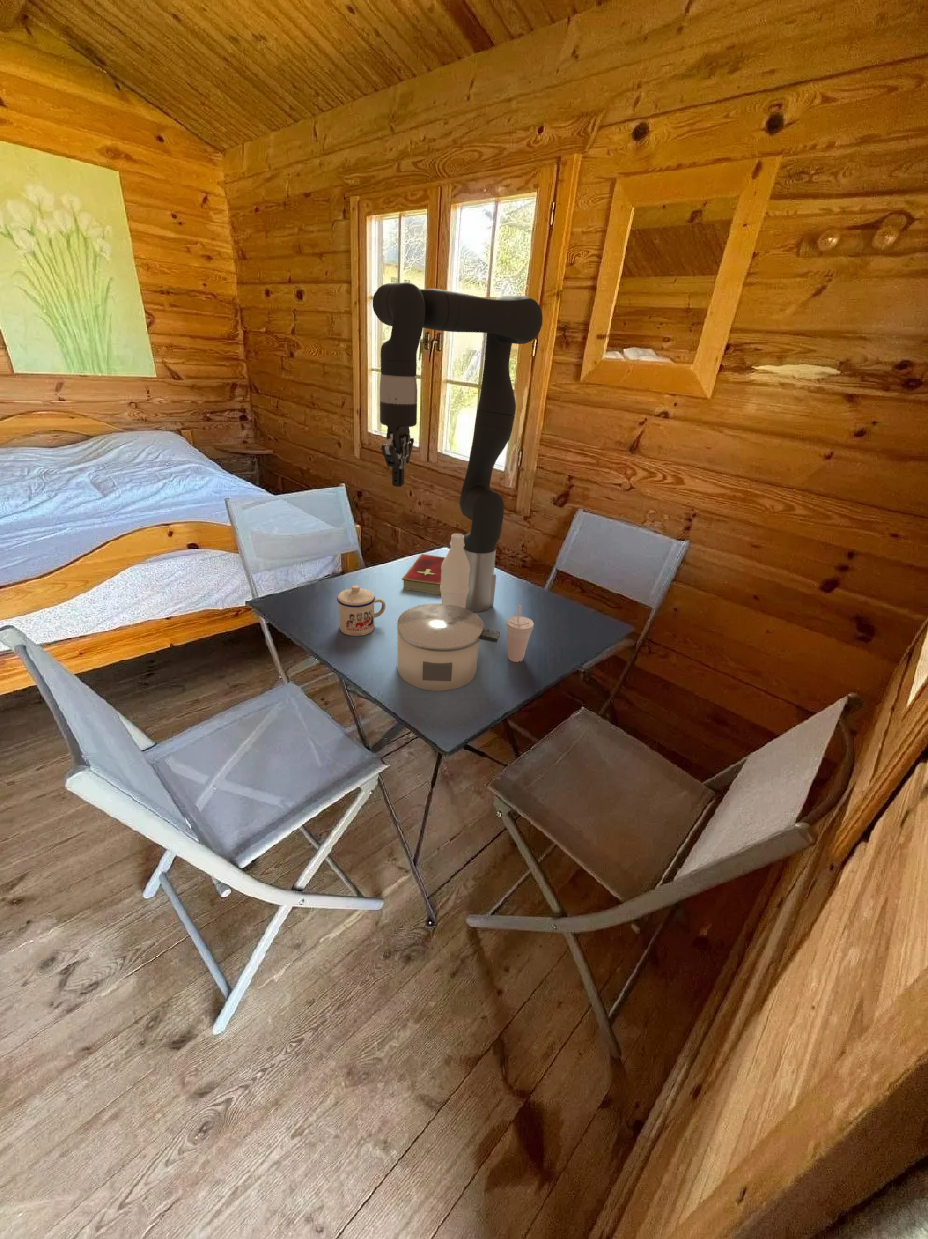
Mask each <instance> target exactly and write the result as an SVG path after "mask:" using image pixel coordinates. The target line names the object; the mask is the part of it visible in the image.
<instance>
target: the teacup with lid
mask: <svg viewBox="0 0 928 1239" xmlns="http://www.w3.org/2000/svg"><path fill="white" fill-rule="evenodd" d="M336 599H337V600H336V601H337V602H338V616H339V617H338V619H339V620H338V622H339V629H340V631H341V632H342V633H343V634H345V635H347V636H351V637H361V636H365V635H369V634H370V633H372V632H373V631H374V629H375V626H376V625H375V619H376V618H378V617H381V616H382V615H383V614H384V612H385V609H386V602H385V601H384V600H383V599H382V598H376V596H375V594H374V593H373V591H370V590H369V589H366V588H361V587H360V585H357V584H355V585H352V586H351V588H347V589H344V590H342V591H340V592H339V594H338V595H337V597H336ZM376 603H380V604H381V608H380V610H379V611H378V612H375V604H376Z"/></svg>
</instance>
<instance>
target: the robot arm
mask: <svg viewBox="0 0 928 1239" xmlns="http://www.w3.org/2000/svg"><path fill="white" fill-rule="evenodd" d="M372 309H373V312H374V315H375V316H376V318H377V319H378V320H379V321H380V322H381V323H382V324H384V325H387V326H389V327H391V332H390V336H389V339H388V340H387V341H385V342H383V343H382V345H381V348H380V379H379V422H380V424H381V425H383V426H386V427H387V431H386V436H385V437H386V438H385V439H386V441H385V442H386V444H384V443H382V444H381V446H380V447H381V448H380V449H381V452H382V456H383V458H384V460H385V463H386V466H387V467H388V468H390V469H391V472H392V473H391V475H392V477H391V478H392V479H391V485H392V486H393V487H396V488H397V487H398V488H401V487H402V486H404V485H405V469H406V468H407V464H409V463H410V459H411V458H410V457H411V455H412V451H413V448H414V442H415V438H414V437H411V430H410V428H411V427H412V428H413V427H416V426H417V424H418V382H417V380H418V379H417V361H418V360H417V356H418V349H419V345H420V343H421V339H422V338H421V337H422V333H423V329H428V330H432V331H437V332H439V331H440V332H448V333H449V332H451V333H478V334H479V333H481V334H482V333H483V334H486V335H485V346H484V347H485V348H484V349H485V350H484V364H483V370H482V378H481V386H480V392H479V399H478V402H477V403H478V404H477V408H476V414H475V422H474V427H473V435H472V436H473V437H472V442H471V448H470V453H469V460H468V464H467V469H466V474H465V477H464V481H463V485H462V488H461V490H460V491H461V492H460V496H459V509H460V511H461V514H462V515H464V517H466V518H467V519H469V520H470V521H471V525H470V526H471V527H470V532H468V533H465V534H463V535H464V544H465V546H464V552H465V554H466V557H467V559H468V561H469V564H470V573H469V586H468V587H469V592H468V595H467V598H466V606H465V608H466V609H468V610H470V611H472V612H474V613H475V612H476V613H477V612H478V613H479V612H483V611H487V610H489V609H490V608H491V607H494V604H495V603H494V601H495V593H496V592H495V591H496V583H497V582H496V581H497V575H496V574H495V573H494V571H495V563H496V552H497V551H496V550H497V544H498V543H499V540H500V537H501V534H502V528H503V520H504V515H505V503H504V502H505V501H504V498H503V497H502V495H501V494H500V493H498V492H497V491H495V490H493V489H490V486H491V480H492V479H491V478H492V474H493V471H494V470H493V469H494V467H495V464H496V462H497V460H498V459H499V457H500V455H501V454H502V452H503V451H504V449H505V448H506V446H507V444H508V442H509V441H510V438H511V435H512V433H513V432H512V431H513V427H514V422H515V418H516V417H515V416H516V411H517V403H516V402H517V401H516V397H515V392H514V389H513V385H512V384H513V383H512V380H511V376H510V358H511V351H512V346H513V344H514V345H522V344H523V345H524V344H529V343H530V342H532V341H533V340H535V339H536V338H537V337H538V336H539V333H540V331H541V329H542V326H543V319H544V317H543V313H542V312H543V310H542V308H541V306H540V304H539V303H538V301H536V300H535V299H534V298H532V297H529V296H525V295H501V296H499V297H496V299H495V298H488V297H487V298H486V297H481V296H477V295H476V296H475V295H473V294H472V295H471V294H468V293H462V292H456V291H453V290H445V289H438V288H426V289H425V288H423V289H421V288H419V287H418V286H417V285H416V284H414V283H412V282H405V281H404V282H390V283H389V282H388V283H385V284H382V285H380V286H379V287H378V288H377V289H376V291H375V292H374V294H373V298H372Z"/></svg>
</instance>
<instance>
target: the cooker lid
mask: <svg viewBox="0 0 928 1239" xmlns="http://www.w3.org/2000/svg"><path fill="white" fill-rule="evenodd" d="M396 624H397V625H396V626H397V627H396V628H397V629H396V631H397V630H398V634H399V635H400V637H401V638H402V639H403V640H404V641H405V642H407V643H409V644H410V645H412V646H415V647H417V648H420V649H424V650H430V651H438V652H447V651H457V650H461V649H465V648H468V647H470V646H472V645H474V644H475V643H477V642H478V641H479V642H480V640H482V641H487V642H491V643H498V641H499V639H500V636H501V631H498V630H492V629H487V628H484V623H483V621H482V618H480V616H479V615H477V614H476V613H475V612H473V611H470V610H468V609H465V608H463V607H459V606H455V605H450V604H441V603H427V604H426V603H424V604H420V605H416V606H413V607H411V608H408V609H407V610H405V611H404V612H401V614H400V615H399V616H398V618H397V623H396Z"/></svg>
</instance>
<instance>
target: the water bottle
mask: <svg viewBox="0 0 928 1239" xmlns="http://www.w3.org/2000/svg"><path fill="white" fill-rule="evenodd" d="M464 535H465V534H463V533H453V534H451V536H450V537H451V538H450V542H449V546H450V548H449V551H448V552H447V553H446V555H445V556H444V557H445V558H444V560H443V562H442V566H441V570H442V571H441V585H440V592H441V595H440V596H441V602H440V604H450V605H455V606H459V607H463V608H465V606H466V598H467V595H468V592H469V587H468V586H469V573H470V564H469V561H468V559H467V557H466V554H465V552H464V546H465V544H464ZM465 609H466V608H465Z"/></svg>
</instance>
